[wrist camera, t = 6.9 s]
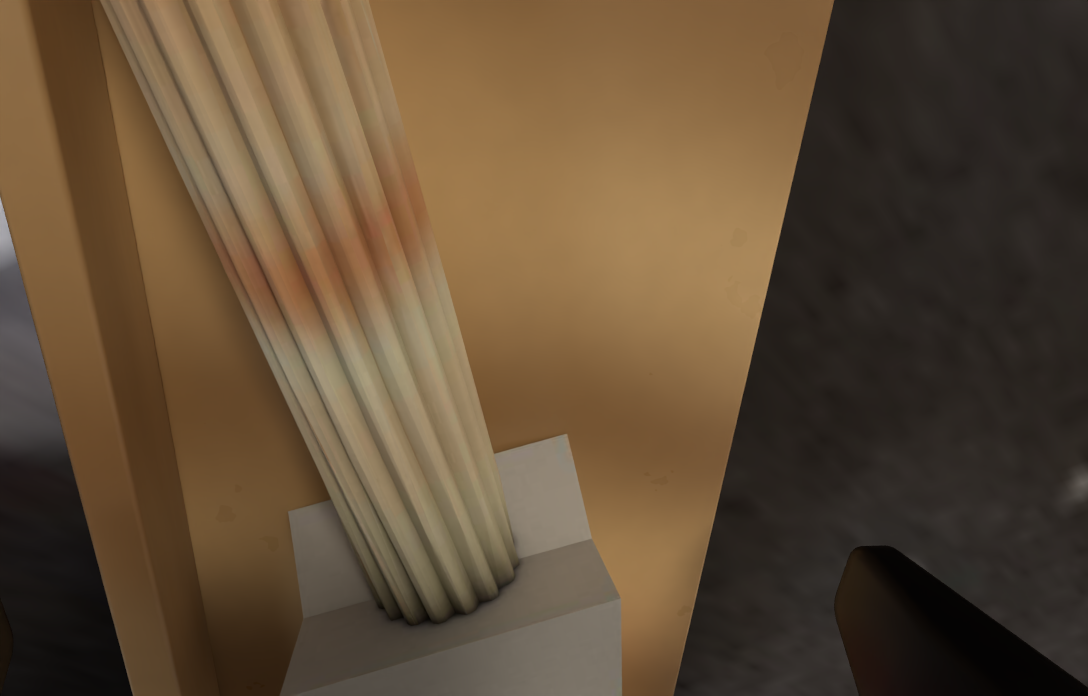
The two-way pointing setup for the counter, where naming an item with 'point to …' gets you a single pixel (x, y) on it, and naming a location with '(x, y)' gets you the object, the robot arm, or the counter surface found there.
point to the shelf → (473, 280)
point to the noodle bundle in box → (371, 366)
